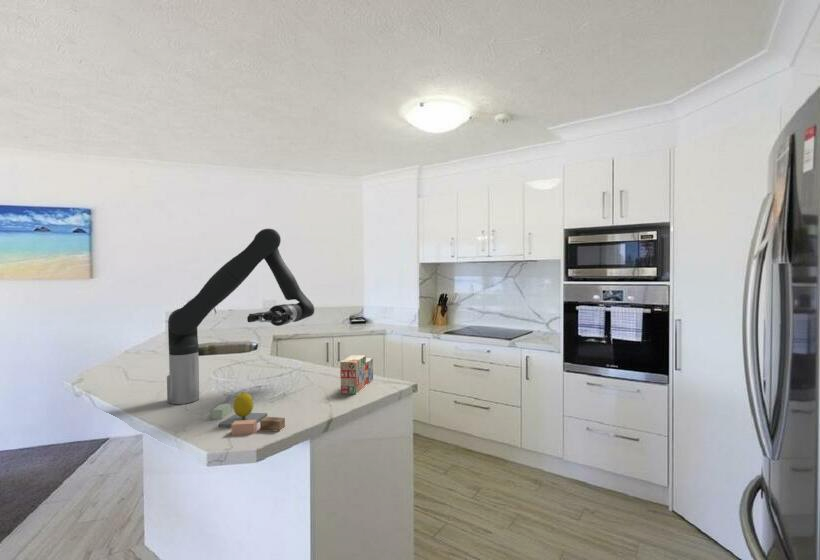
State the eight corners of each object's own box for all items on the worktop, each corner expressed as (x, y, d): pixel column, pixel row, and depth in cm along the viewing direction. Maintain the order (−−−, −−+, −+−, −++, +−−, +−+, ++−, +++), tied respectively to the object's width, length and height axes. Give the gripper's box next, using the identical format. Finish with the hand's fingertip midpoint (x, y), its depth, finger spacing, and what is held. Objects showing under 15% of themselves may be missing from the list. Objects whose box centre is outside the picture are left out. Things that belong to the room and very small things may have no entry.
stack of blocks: (359, 379, 168) (359, 350, 167) (373, 379, 166) (373, 350, 166) (340, 393, 147) (339, 361, 147) (356, 394, 145) (355, 361, 145)
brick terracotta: (231, 435, 109) (231, 424, 109) (235, 431, 112) (235, 420, 112) (253, 434, 110) (253, 423, 110) (256, 429, 113) (256, 419, 113)
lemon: (257, 416, 121) (256, 390, 121) (241, 422, 116) (240, 395, 116) (245, 414, 123) (245, 388, 123) (229, 419, 119) (229, 393, 119)
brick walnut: (260, 431, 112) (260, 420, 112) (265, 427, 115) (265, 416, 115) (279, 432, 111) (279, 421, 111) (284, 427, 114) (284, 417, 114)
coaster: (218, 426, 115) (218, 423, 115) (238, 414, 125) (237, 412, 125) (250, 427, 114) (250, 425, 114) (267, 415, 124) (267, 413, 124)
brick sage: (222, 419, 122) (222, 409, 122) (212, 419, 122) (212, 409, 122) (230, 412, 128) (230, 403, 128) (221, 413, 128) (221, 403, 128)
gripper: (264, 304, 147) (240, 308, 131) (300, 304, 145) (280, 307, 129) (265, 324, 147) (241, 330, 131) (301, 324, 145) (281, 330, 129)
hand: (260, 319), depth 130 cm, fingers open, 8 cm apart
